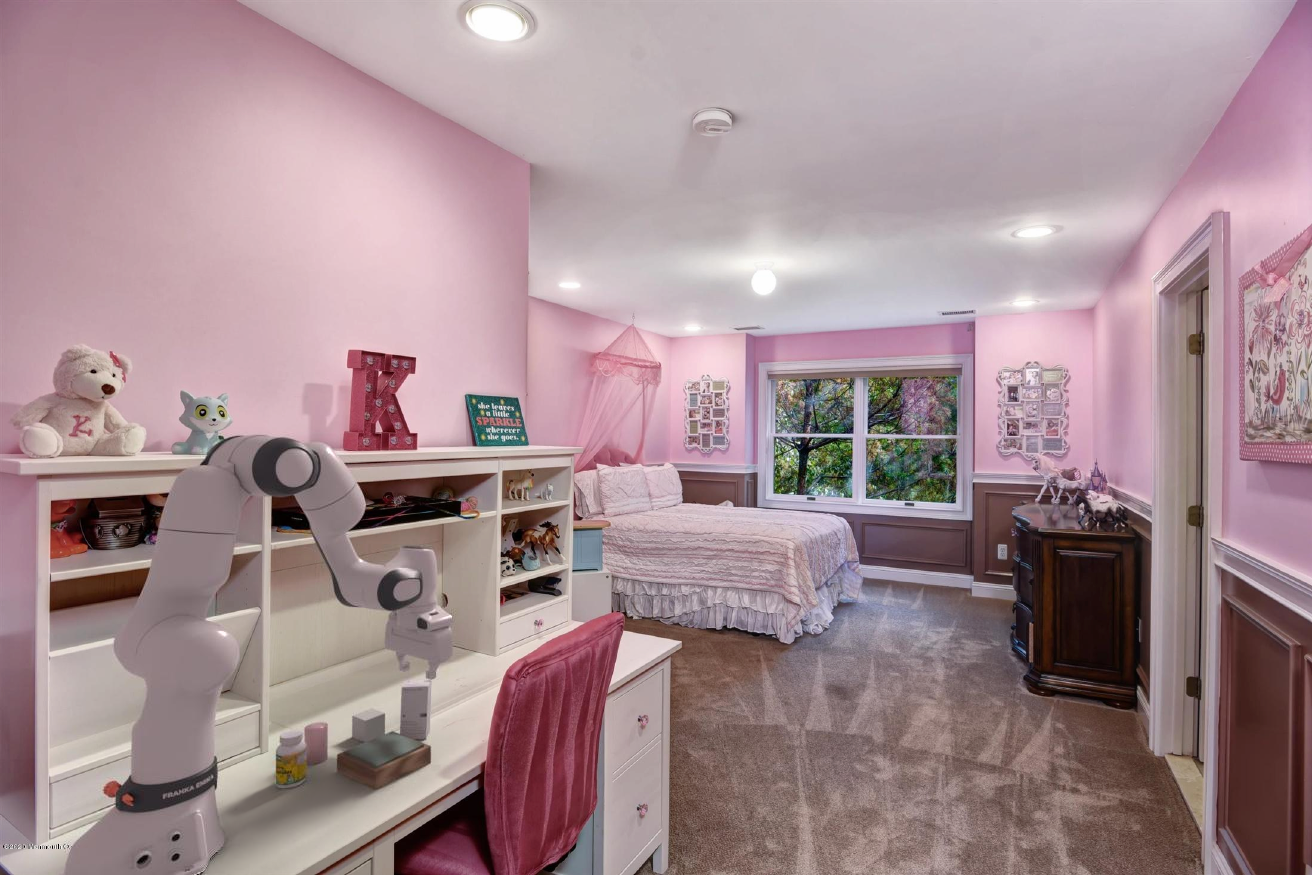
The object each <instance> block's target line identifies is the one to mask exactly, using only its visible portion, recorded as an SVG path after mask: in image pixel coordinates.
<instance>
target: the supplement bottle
mask: <svg viewBox="0 0 1312 875" xmlns="http://www.w3.org/2000/svg"><path fill="white" fill-rule="evenodd" d="M303 735H304V734H303V731H302V730H301V729H292V730H287V731H285V732H282V733H281V734H280V735H279V746H277V747H276V750H275V786H276V787H277V788H279V789H290V788H291V789H292V788H295V787H297V786H300V785H301V784H303V783H304V782H306V779H307V769H308V768H307V765H308V764H307V746H306V743H305V742H304V740H303V739H304V736H303Z"/></svg>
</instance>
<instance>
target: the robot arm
mask: <svg viewBox="0 0 1312 875" xmlns="http://www.w3.org/2000/svg"><path fill="white" fill-rule="evenodd" d="M252 496H253V497H264V498H265V497H275V498H285V497H289V496H294V497H295V500H296V502H297V503H298V505H299V506H300V508H301V509H302V511H303V513H304V515H305V516H306V518H307V521H308V523H309V531H310V533H311V536H312V537H313V540H314V543H315V545H316V546H317V548H318V550H319V553H320V554H321V556H322V558H323V561H324V562H325V565H326V567H327V568H328V571H329V573H330V576H331V580H332V586H333V590H334V591H333V592H334V594H335V597H336V599H337V600H338V602H339V603H341V605H343V606H345V607H348V608H365V609H370V610H377V611H378V610H379V611H384V612H390V613H389V614H388V620H387V622H386V624H385V631H384V645H385V648H386V649H387V650H389V651H392V652H395V656H396V660H397V662H398V664H399V667H398V668H399V671H401V672H404V673H405V672H408V671H409V670H410V669H411V668H410V667H411V663H410V662H408V658H407V656H410V657H413V658H418V659H421V660H425V661H427V664H428V665H427V666H429V668H428V669H427V670H426V671H425V679H426V680H431V681H432V680H435V679H436V678H437V670H438V669H439V666H440V664H443V663H446V662H448V661H450V660H451V658H452V657H453V651H454V650H453V649H454V642H453V641H454V640H453V630H452V628H451V625H452V624H453V620H454V619H453V616H452V615H451V614H450V613H449V612H448V611H446V610H444V609H443V608H442V607H441V606H440V605H439V604H438V596H437V591H436V590H437V585H438V564H437V556H436V553H435V551H434V550H433V548H431V547H429V546H421V545H403V546H401V547H400V548H399V551H398V553H397V554H396V555H395V556H394V557H393V558H392V559H391V560H389V561H388V562H387V563H384V564H383V565H382V564H377V563H370V562H368V561H365V560H363V559H362V558H360V557H359V556H358V554H357V552H356V550H355V548H354V546H353V544H352V541H351V539H350V537H349V535H348V533H347V532H349V531H350V530H351V529H353V528H354V527H355V526H356V525H357V524H358V523H360V521H361V519H362V518H363V516H364V514H365V511H366V507H367V504H366V500H365V496H364V494H363V492H362V489H361V487H360V485H359V484H358V483H357V480H356V479H355V477H354V476H353V474H352V472H351V470H350V469H349V467H348V466H347V465H346V464H345V462H344V461H343V460H342V458H341V457H340V456H339V455H338V454H337V453H336V452H335V450H333V448H332V447H331V446H330V445H328V444H327V443H325V442H320V441H312V442H311V441H310V442H306V443H302V442H301V441H299V440H296V439H293V438H289V437H279V436H278V437H276V436H269V435H266V434H250V435H234V436H229V437H227V438H223V439H222V440H219V441H218V442H217V443H215V444H214V445H213V447H211V449H209V451H208V452H207V454H206V455H205V457H204V459H203V460H202V461H201V463H199V465H195V466H191V467H188V468H185V469H184V470H181V472H180V473H179V474H177V476H176V477H175V479H174V482H173V483H172V485H171V489H170V490H169V492H168V496H167V498H166V501H165V502H164V503H165V504H164V507H163V510H162V514H161V517H160V520H159V524H158V530H157V533H156V539H155V544H154V548H153V552H152V553H153V554H152V557H151V561H150V562H151V563H150V566H149V572H148V573H147V574H148V575H147V578H146V581H145V583H144V584H143V588H142V590H141V592H140V595H139V597H138V599H137V601H136V603H135V605H134V607H133V609H132V612H131V614H130V616H129V618H128V619H127V620H126V621H125V622H124V623H123V624H122V625H121V626H120V628H118V631H116V634H115V636H114V639H113V646H112V647H113V653H114V655H115V657H116V658H117V660H118V661H119V663H120V664H121V665H122V667H123V669H124V670H126V671H127V672H129V673H130V674H132V675H134V676H136V677H139V678H141V679H143V680H144V681H145V685H146V695H145V700H144V703H143V707H142V710H141V714H140V717H139V718H138V719H137V720H136V722H135V723H134V724H133V726H132V729H131V748H130V749H131V752H130V753H131V755H130V760H131V761H130V775H129V776H128V778H127V779H126V780H125V782H124V783H123V784H121V783H119V782H118V781H117V780H111V781H109V782H107V783H106V784H105V786H103V789H102V792H103V794H104V795H105V796H107V797H108V798H112V799H113V798H115V802H114V803H115V804H114V806H113V807H111V809H110V810H109V811H108V812H107V813H106V814H105V815H103V816H102V817H101V818H99V820H97V821H96V823H95V824H93V825H92V826H91V827H90V828H89V829H88V830H87V831H86V832H84V834H82V835H81V836H80V837H78V839H76V841H74V843H73V844H72V846H71V847H70V849H69V852H68V855H67V859H66V861H65V867H64V872H62V873H60V874H59V875H194V874H197V873H198V872H201V871H203V870H204V869H205V868H206V866H207V864H208V865H209V863H210V861H211V860H210V858H211V857H212V856H213V855H214V854H215V853H216V852H219V851H220V850H221V849H222V848H221V847H224V845H225V842H224V841H226V836H225V834H224V831H223V828H222V825H221V821H220V816H219V813H218V812H219V811H218V807H217V806H218V805H217V798H216V797H217V796H216V790H217V788H218V779H219V778H218V777H219V769H218V757H217V756H216V755H215V745H216V744H215V738H216V737H215V736H216V715H217V710H218V704H219V701H220V697H221V693H222V690H223V687H224V685H225V682H226V681H228V680H229V679H230V677H231V676H232V675H233V674H234V672H235V670H236V668H237V666H238V665H239V664H238V663H239V661H240V646H239V643H238V641H237V639H236V638H235V637H234V636H233V635H232V634H231V633H230V632H229V631H228V630H227V629H226V628H224V626H221V625H220V624H218V623H216V622H215V621H214V622H213V621H209V620H207V619H206V618H207V613H208V611H209V608H210V606H211V604H212V601H213V600H214V598H215V595H216V594H217V592H218V591H219V589H220V588H221V587H223V586H224V585H225V583H227V581H228V579H229V577H230V573H231V569H232V568H231V567H232V562H233V557H234V553H235V552H234V551H235V547H236V543H237V542H236V541H237V536H238V531H239V524H240V516H241V512H242V510H243V508H244V506H245V504H246V503H247V501H248V500H249V499H250V498H251V497H252ZM218 850H219V851H218ZM215 855H216V854H215ZM215 855H214V856H215ZM214 856H213V857H214ZM213 857H212V858H213ZM212 858H211V859H212ZM209 860H210V861H209ZM208 862H209V863H208ZM207 867H208V866H207ZM206 869H207V868H206ZM187 871H188V872H187Z"/></svg>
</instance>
